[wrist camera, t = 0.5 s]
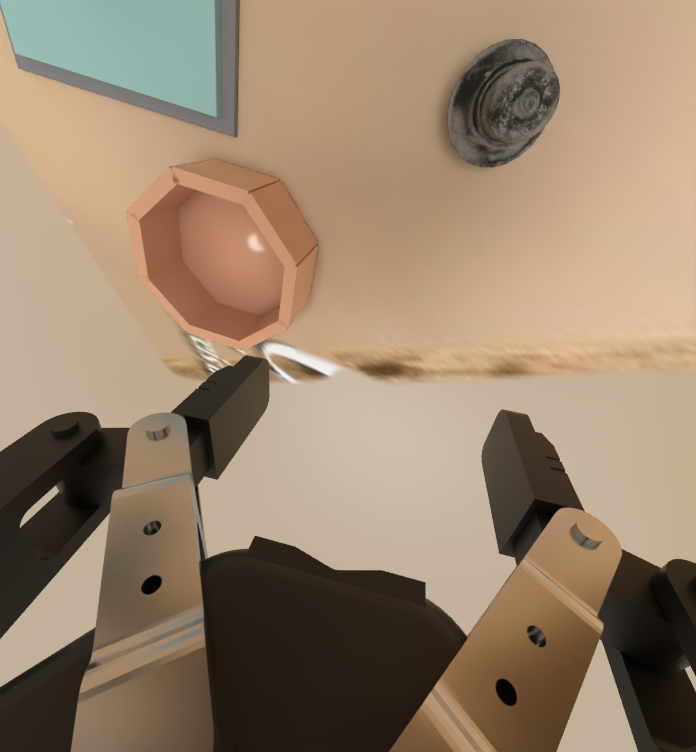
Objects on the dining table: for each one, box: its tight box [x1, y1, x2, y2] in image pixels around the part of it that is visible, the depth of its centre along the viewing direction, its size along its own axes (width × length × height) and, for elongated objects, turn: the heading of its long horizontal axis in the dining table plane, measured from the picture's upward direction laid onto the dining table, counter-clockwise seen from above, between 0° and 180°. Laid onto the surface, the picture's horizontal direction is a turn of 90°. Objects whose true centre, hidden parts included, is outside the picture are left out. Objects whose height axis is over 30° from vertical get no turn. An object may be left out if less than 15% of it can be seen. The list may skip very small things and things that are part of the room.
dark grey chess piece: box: [447, 39, 560, 167], centre depth 18 cm, size 6×6×12 cm
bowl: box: [126, 159, 318, 350], centre depth 30 cm, size 14×14×6 cm
